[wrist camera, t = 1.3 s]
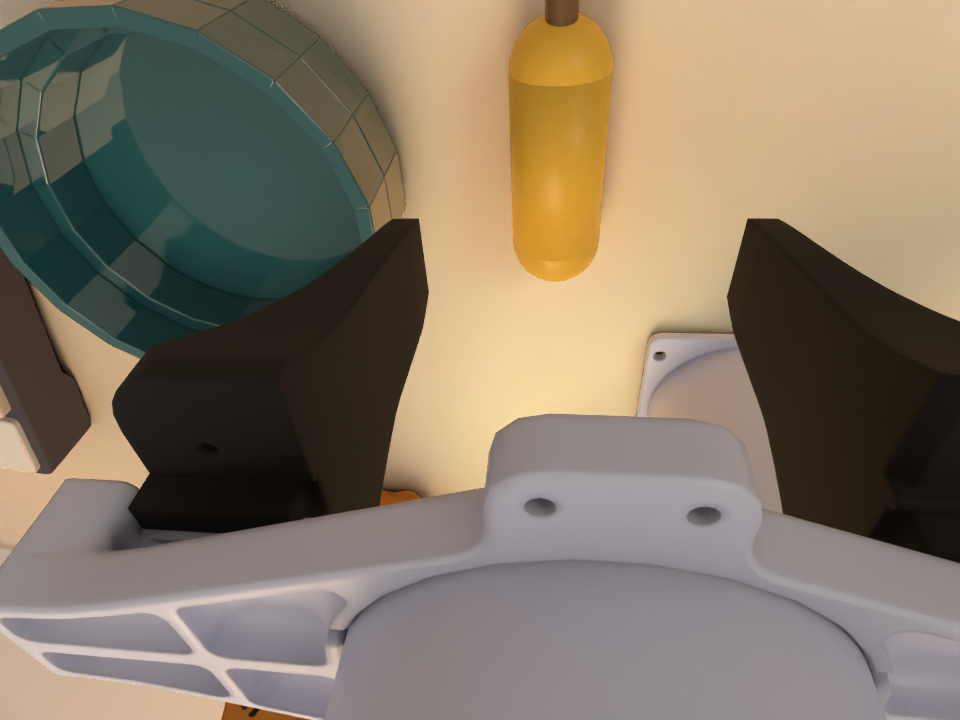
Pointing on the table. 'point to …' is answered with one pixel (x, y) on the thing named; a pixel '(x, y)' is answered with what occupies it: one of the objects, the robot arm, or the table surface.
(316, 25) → the table surface
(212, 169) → the teal bowl
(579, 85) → the amber tube
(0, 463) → the calculator
